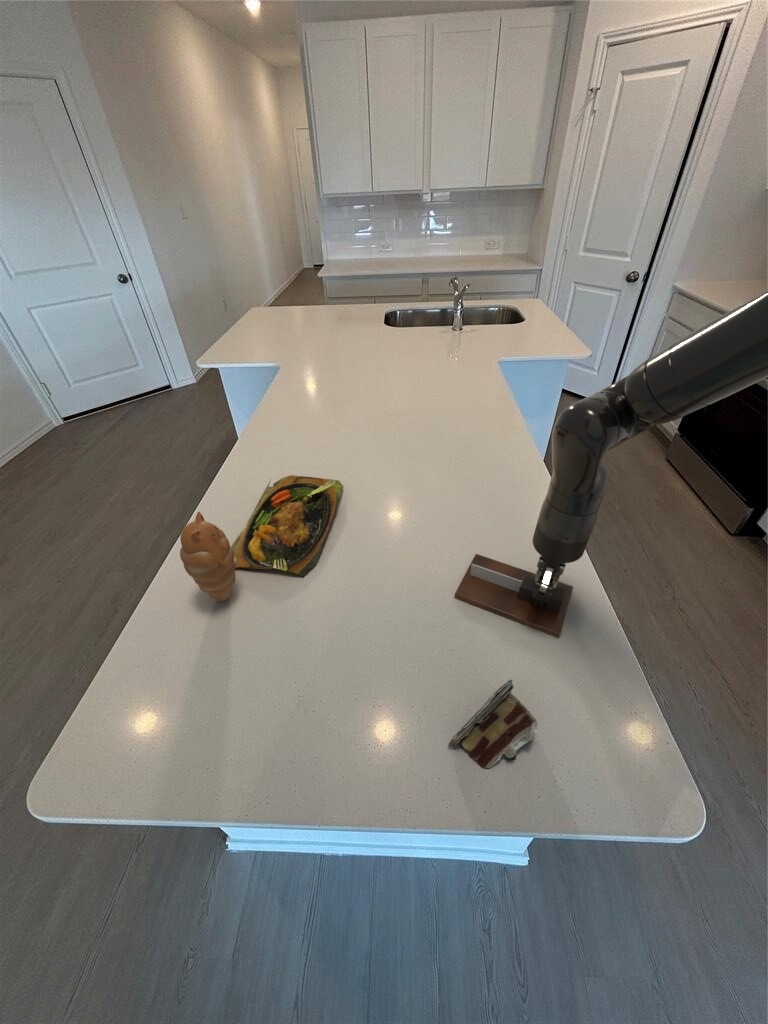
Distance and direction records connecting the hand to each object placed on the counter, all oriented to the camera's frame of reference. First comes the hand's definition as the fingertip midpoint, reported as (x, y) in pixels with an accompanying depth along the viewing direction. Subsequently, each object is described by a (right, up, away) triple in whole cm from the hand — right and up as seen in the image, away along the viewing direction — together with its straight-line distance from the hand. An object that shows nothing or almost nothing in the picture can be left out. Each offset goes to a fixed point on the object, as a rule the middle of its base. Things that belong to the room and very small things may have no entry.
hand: (540, 598), depth 75 cm
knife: (-4, +1, +2) cm, 5 cm away
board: (-4, 0, +3) cm, 5 cm away
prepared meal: (-47, +12, +18) cm, 52 cm away
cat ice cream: (-56, -1, +4) cm, 56 cm away
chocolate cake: (-12, -16, -16) cm, 25 cm away
